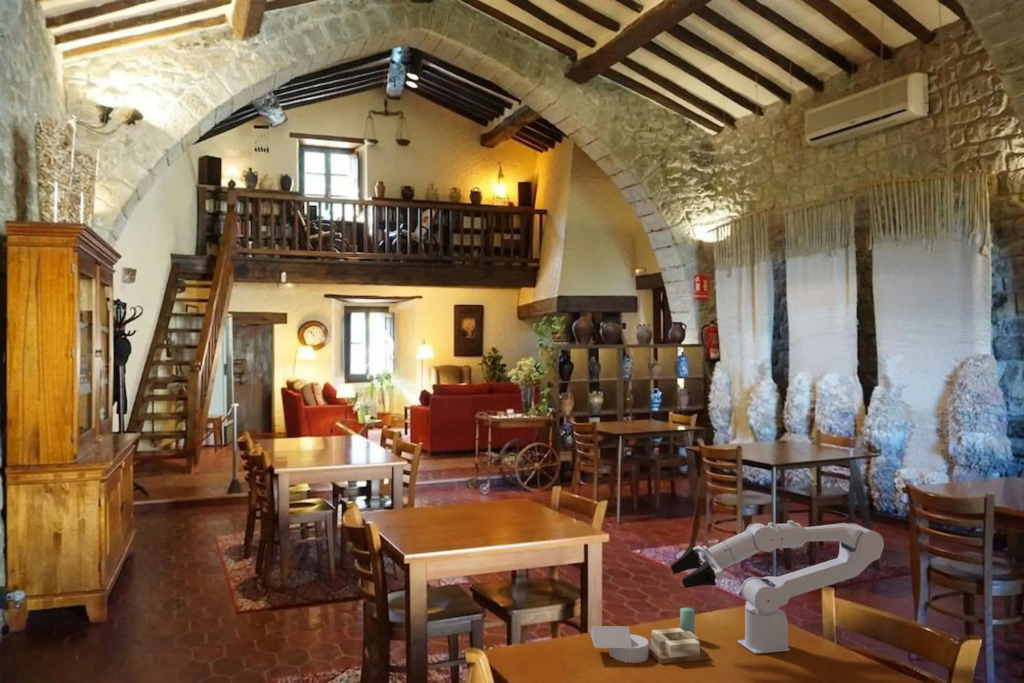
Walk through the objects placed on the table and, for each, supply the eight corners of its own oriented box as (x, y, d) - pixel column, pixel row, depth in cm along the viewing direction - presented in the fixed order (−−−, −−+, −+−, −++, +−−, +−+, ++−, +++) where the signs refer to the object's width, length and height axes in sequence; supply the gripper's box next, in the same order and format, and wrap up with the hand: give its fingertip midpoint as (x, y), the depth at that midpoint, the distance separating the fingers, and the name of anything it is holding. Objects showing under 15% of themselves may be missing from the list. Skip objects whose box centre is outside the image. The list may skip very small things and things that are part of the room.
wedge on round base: (594, 662, 174) (651, 663, 174) (594, 632, 174) (651, 633, 174) (590, 647, 183) (644, 648, 183) (590, 619, 183) (644, 619, 183)
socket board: (688, 643, 186) (688, 627, 186) (708, 659, 176) (708, 641, 176) (642, 647, 183) (642, 630, 183) (660, 663, 173) (660, 646, 174)
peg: (690, 635, 192) (690, 607, 192) (697, 640, 188) (697, 611, 189) (677, 636, 191) (677, 608, 191) (684, 641, 188) (684, 612, 188)
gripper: (710, 527, 190) (661, 550, 189) (735, 551, 176) (682, 576, 175) (719, 551, 192) (671, 574, 191) (745, 577, 178) (693, 601, 177)
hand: (677, 576), depth 183 cm, fingers open, 7 cm apart
